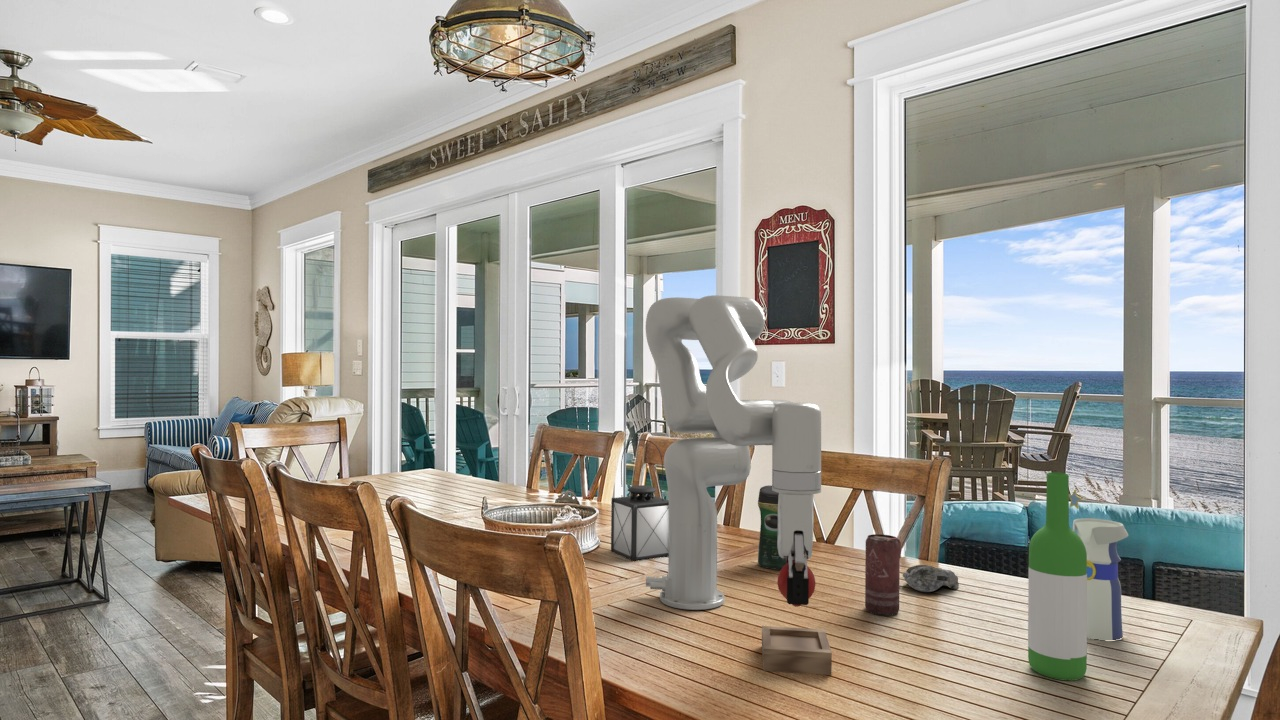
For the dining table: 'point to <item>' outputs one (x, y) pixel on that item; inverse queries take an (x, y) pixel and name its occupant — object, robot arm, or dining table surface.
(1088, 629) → the white spray bottle
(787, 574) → the onion
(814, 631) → the wooden square tray
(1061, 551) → the wine bottle
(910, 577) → the fossilized seashell
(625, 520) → the lantern
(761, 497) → the coffee jar
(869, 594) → the can
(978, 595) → the dining table surface
